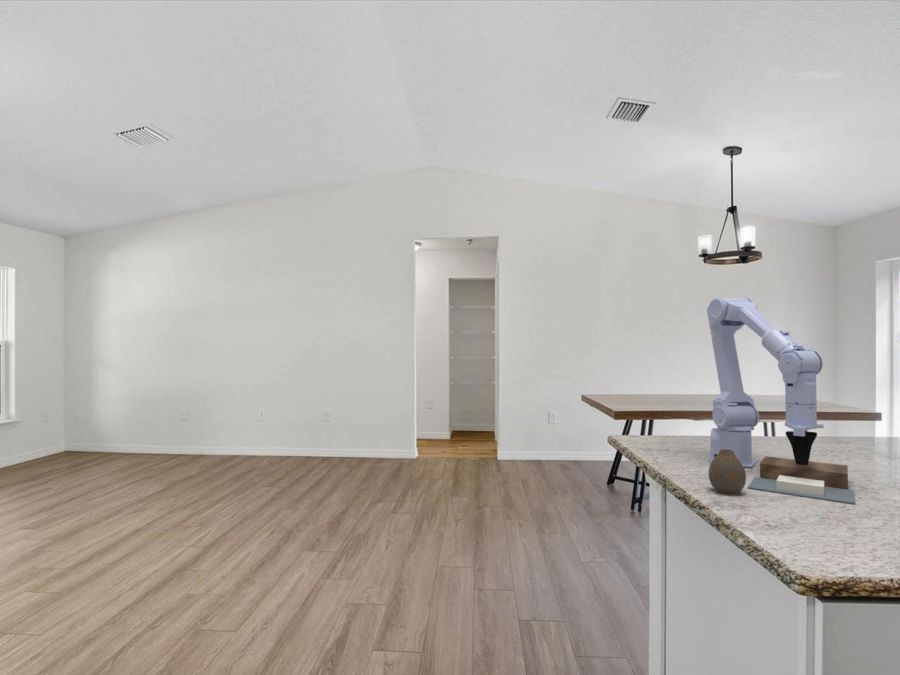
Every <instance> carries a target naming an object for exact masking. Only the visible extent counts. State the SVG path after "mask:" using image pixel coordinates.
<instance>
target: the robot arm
mask: <svg viewBox="0 0 900 675" xmlns="http://www.w3.org/2000/svg"><path fill="white" fill-rule="evenodd" d="M706 312H707V313H706V314H707V317H708V325H709V329H710V336H711V342H712V348H713V354H714V360H715V367H716V371H717V372H716V373H717V379H718V383H719V384H718V385H719V390H720V394H719V395H718V396H717V397H715V399H713V400H712V414H711V416H712V420H713V423H714V424H715V426H716V427H713V428H711V431H710V437H709V440H710V441H709V442H710V443H709V445H710V449H709V450H710V461H709V463H711V462H712V460H713V459H714V458H715V457H716V456H717V455H718V453H719V451H720V450H721V449H728V450H732V451H733V452H734V454H735V456H736V457H737V458H738V459H739V461H740V462H741V463H742V465H743V467H744V468H752V467H753V466H754V465H755V464H756V460H755V459H754V460H753V454H752V453H753V450H752V449H753V446H752V441H753V440H752V438H753V437H752V431H754V430H755V427H756V426H757V425H758V423H759V420H760V414H759V410H758V409H757V408H756V406H755V402H754V401H755V400H754V398H753V397H751V396H750V395H748V393H746V392H745V391H744V386H743V385H744V384H743V380H742V375H741V374H742V373H741V369H740V363H739V358H738V353H737V352H738V351H737V346H736V341H735V333H737V331H739V330H741V329H742V328H743V327H744V326H745V325H746V326H747V327H748V329H750V330H751V331H753V332H754V333H755V334H756V335H758V336H759V337H760V338H761V346H762V347H763V348H764V349H765V350H766V351H767V352H769V354H770V355H771V356H772V357H774V358H775V359H776V360H777V361H778V362H777V367H778V369H779V371H780V373H781V375H782V381H783V383H784V387H785V389H784V390H785V422H784V426H786V427H787V428H790V429H792V430H793V431H792V430H791V431H790V430H789V431H785V435H786V437H787V440H788V441H789V443H790V445H791V446H790V447H791V449H792V454H793V457H794V460H795V462H796V464H799V465H808V462H809V461H810V457H811V456H810V455H811V450H812V447H813V444H814V442H815V440H816V438H817V437H818V432H816V431H809V430H816V429H824V423H823V424H821V423H818V416H817V415H818V413H817V412H818V411H817V410H818V408H817V407H818V406H817V404H818V403H817V375H818V374H819V373H821V371H822V369H823V362H824V361H823V358H822V356H821V354H819V352H818V351H817V350H814V349H807V348H805V347H804V345H803V344H801V343H800V342H798V341H797V340H796V339H794V338H793V337H792V336H791V335H790V331H789V330H787V329H783V328H774V326H773V325H772V324H771V323H770V321H768V319H767V318H765V316H764V315H763V314H762V313H761V312H760V311H759V310H758V304H757V303H756V302H754V300H752V298H750V297H721V296H716V297H714V298H712V300H711V301H710V303H709V305H708V306H707V308H706Z"/></svg>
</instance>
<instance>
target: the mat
mask: <svg viewBox="0 0 900 675" xmlns="http://www.w3.org/2000/svg"><path fill="white" fill-rule="evenodd" d="M824 488H825V490H824V496H820V495H813V494H807V493H800V492H793V491H786V490H779V489H777V480H774V479H766V478H760V476H759V477H757V476H754V477H753V479H752V480H751V482H750V483H749V484H748V486H747V489H749V490H755V491H762V492H771V493H774V494H780V495H781V494H783V495H788V496H795V497H802V498H807V499H813V500H815V499H816V500H822V501H827V502H828V501H829V502H833V503H834V502H835V503H840V504H841V503H842V504H847V505H853V506H854V505H855V506H856V497H855V494H856V493H855V490H853V489H848V490H847V489H839V488H832V487H825V486H824Z"/></svg>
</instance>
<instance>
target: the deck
mask: <svg viewBox="0 0 900 675" xmlns="http://www.w3.org/2000/svg"><path fill="white" fill-rule="evenodd" d="M848 468H849V466H848V465H845V464H835V463H827V462H819V461H810V460H809V462H808V465H799V464H796V462H795V459H792V458H784V457H778V456H777V457H775V456H767V455H766V456H764V457H763V458H762V459H761V461H760V463H759V478H766V479H774V480H777V479H778V477H779V475H783V476H790V477H798V478H806V479H813V480H821V481H824V486H825V487H832V488H839V489H847V490H849V469H848Z"/></svg>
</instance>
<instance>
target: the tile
mask: <svg viewBox="0 0 900 675" xmlns="http://www.w3.org/2000/svg"><path fill="white" fill-rule="evenodd" d="M777 489H779V490H786V491H793V492H800V493H807V494H813V495H820V496H824V490H825V488H824V481H821V480H813V479H806V478H798V477H790V476H783V475H779V477H778V479H777Z"/></svg>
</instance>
